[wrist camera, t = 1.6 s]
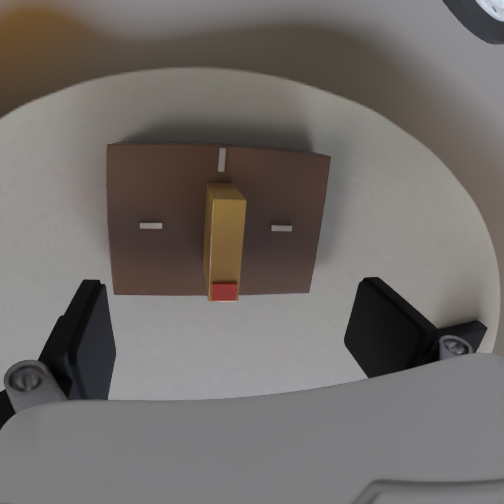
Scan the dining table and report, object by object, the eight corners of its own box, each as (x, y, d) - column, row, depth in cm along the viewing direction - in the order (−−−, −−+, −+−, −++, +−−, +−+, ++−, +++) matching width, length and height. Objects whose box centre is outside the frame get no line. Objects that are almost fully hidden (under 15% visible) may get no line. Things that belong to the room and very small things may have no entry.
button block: (434, 329, 33) (453, 348, 29) (478, 319, 35) (495, 334, 32) (402, 397, 37) (415, 416, 34) (447, 382, 40) (460, 397, 36)
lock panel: (117, 142, 19) (106, 144, 16) (313, 152, 22) (332, 156, 19) (120, 275, 23) (113, 296, 20) (296, 275, 26) (310, 294, 23)
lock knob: (207, 182, 18) (213, 199, 14) (233, 183, 19) (247, 200, 14) (203, 266, 20) (208, 304, 16) (227, 266, 21) (239, 304, 16)
